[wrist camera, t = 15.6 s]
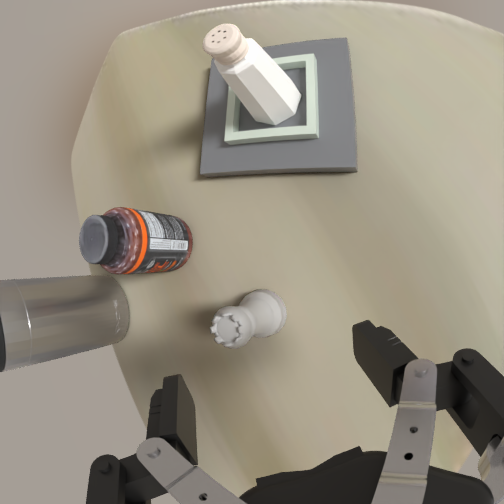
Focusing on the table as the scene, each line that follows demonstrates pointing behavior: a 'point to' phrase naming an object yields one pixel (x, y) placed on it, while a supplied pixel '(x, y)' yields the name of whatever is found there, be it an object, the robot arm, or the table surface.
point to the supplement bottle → (135, 241)
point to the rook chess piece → (249, 319)
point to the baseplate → (292, 129)
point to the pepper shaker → (252, 75)
